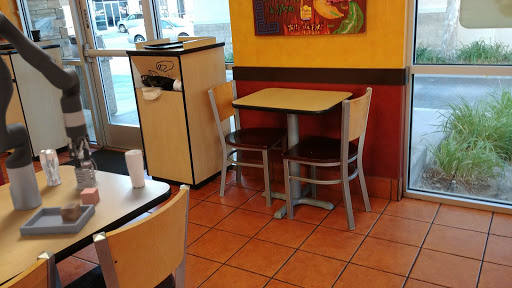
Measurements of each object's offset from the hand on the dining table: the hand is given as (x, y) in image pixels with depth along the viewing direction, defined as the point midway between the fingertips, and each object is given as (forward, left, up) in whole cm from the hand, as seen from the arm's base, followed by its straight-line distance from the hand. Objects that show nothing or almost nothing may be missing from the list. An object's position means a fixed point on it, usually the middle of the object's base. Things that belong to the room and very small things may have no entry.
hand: (83, 164), depth 174 cm
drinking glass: (+15, +14, -16) cm, 26 cm away
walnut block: (-1, -15, -15) cm, 21 cm away
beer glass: (-25, +22, -16) cm, 37 cm away
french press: (-8, +18, -16) cm, 26 cm away
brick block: (0, 0, -16) cm, 16 cm away
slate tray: (-5, -17, -16) cm, 24 cm away
